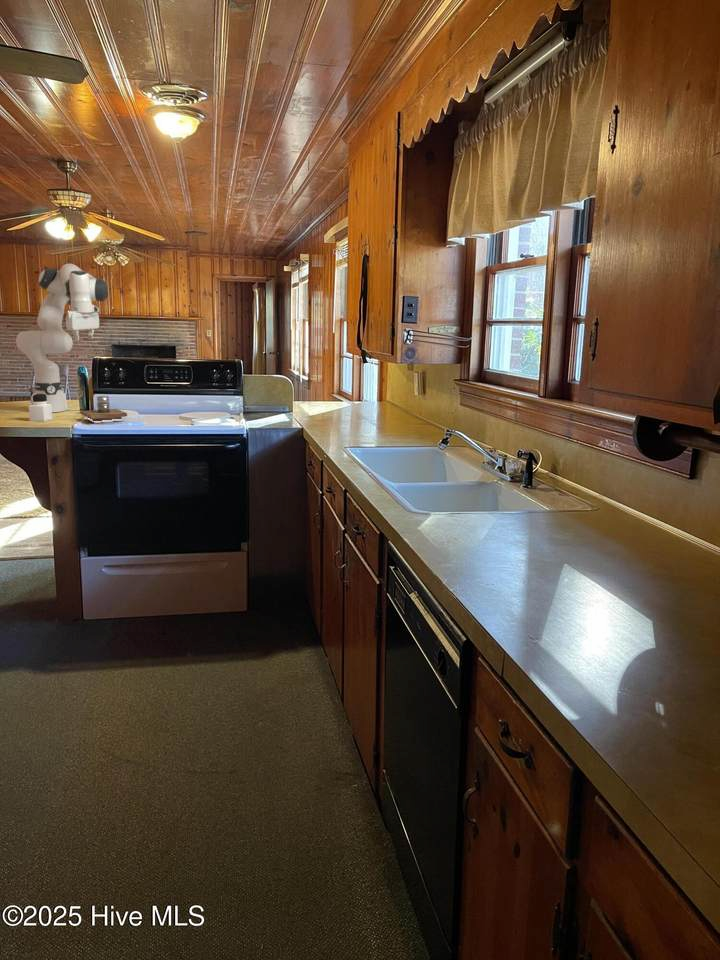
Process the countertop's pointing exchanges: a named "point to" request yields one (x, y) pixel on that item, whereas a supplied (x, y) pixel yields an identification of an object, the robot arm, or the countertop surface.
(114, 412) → the walnut stand
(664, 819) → the countertop surface
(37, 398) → the medicine bottle
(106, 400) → the grey metal cylinder
